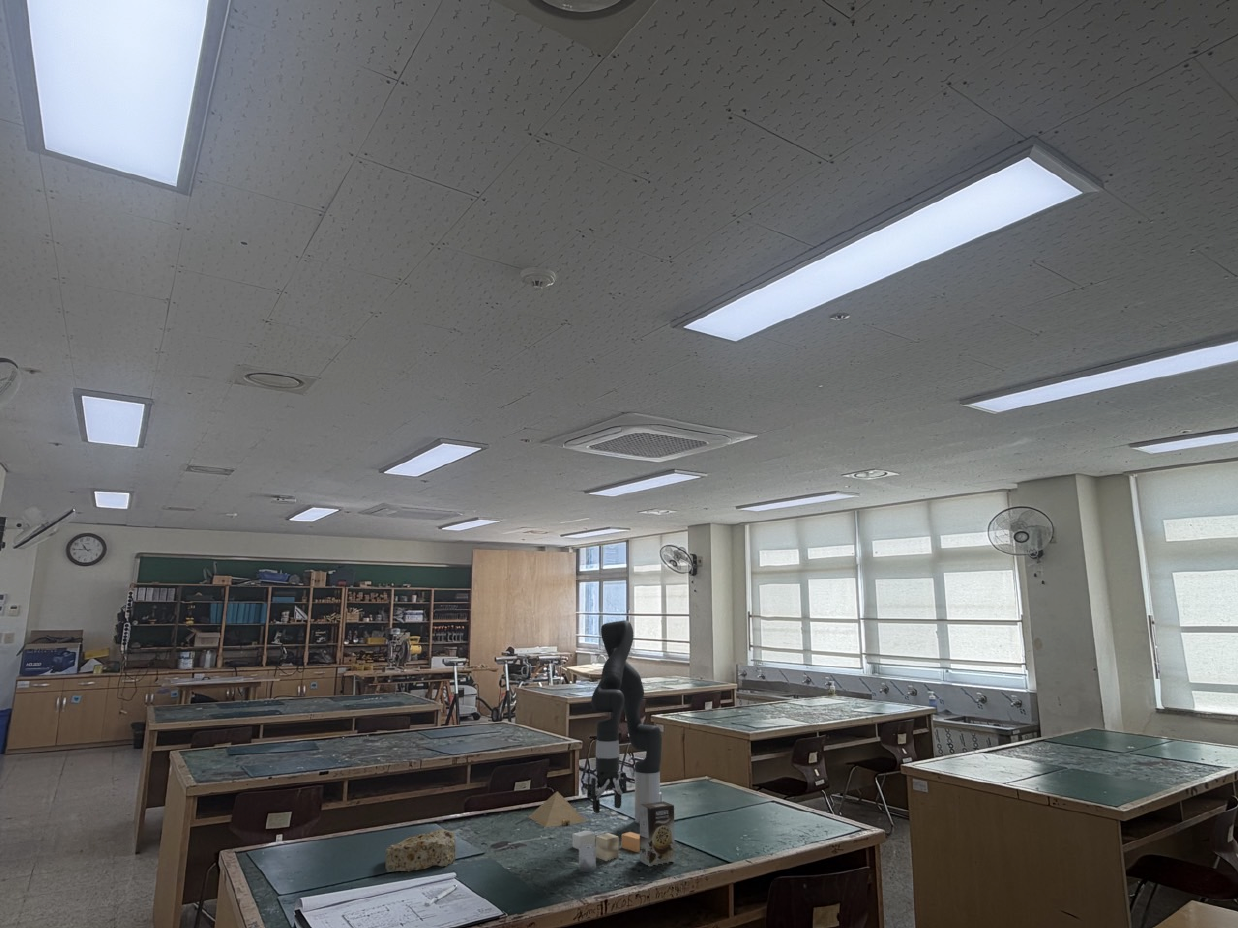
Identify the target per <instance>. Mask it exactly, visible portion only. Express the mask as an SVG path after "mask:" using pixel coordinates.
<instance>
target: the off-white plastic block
mask: <svg viewBox="0 0 1238 928" xmlns="http://www.w3.org/2000/svg"><path fill="white" fill-rule="evenodd" d="M583 844H593V845H595V846H596V833H595V832H593V831H590V830H583V831H578V832H575V833H572V848H574V849H577V850H579V846H580V845H583Z"/></svg>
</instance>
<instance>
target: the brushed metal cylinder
mask: <svg viewBox="0 0 1238 928" xmlns="http://www.w3.org/2000/svg"><path fill="white" fill-rule="evenodd" d="M596 860H597V857H596V844H595V845H593V844H583V845H580V846H579V849H578V870H579V871H580V872H584V873H591V872H593V871H595V870H596V869H597V868H596V867H597V866H596V864H597V861H596Z"/></svg>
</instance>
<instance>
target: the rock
mask: <svg viewBox="0 0 1238 928" xmlns="http://www.w3.org/2000/svg"><path fill="white" fill-rule="evenodd" d="M456 841H457V840H456V835H455V834H454V831H452V830H445V829H443V828H441V829H436V830H435V831H433V830H430V831H429V832H428V833H420V834H416V835H415V836H412V837H408V838H405V839H404V840H402V841H400V842H398V843H396V844H391V845H390V846H388V847H387V848H386V851H385V860H384V861H385V867H384V868H385V870H386V869H387V871H408V872H412V871H419V870H426V869H428V868H431V867H433V866H436V867H437V866H438V867H443V866H445V867H447V866H449V865H448V864H450V865H452V864H453V862H454V863H455V861H456V857H457V856H456V848H457V847H456V845H457V844H456ZM451 863H452V864H451ZM387 871H386V872H387Z"/></svg>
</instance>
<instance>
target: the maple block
mask: <svg viewBox="0 0 1238 928" xmlns="http://www.w3.org/2000/svg"><path fill="white" fill-rule="evenodd" d="M619 841H620V839H619V836H618V835H616V834H612V833H609V832H607V833H606V832H605V833H603V834H599V835H595V846H596V859H599V860H603V861H605V862H607V861H608V860H609V861H611V859H612V860H615V859H614V858H616V859H618V858H617V857H619V856H620V855H619V853H620V851H619V844H620V843H619ZM619 858H620V857H619Z"/></svg>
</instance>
